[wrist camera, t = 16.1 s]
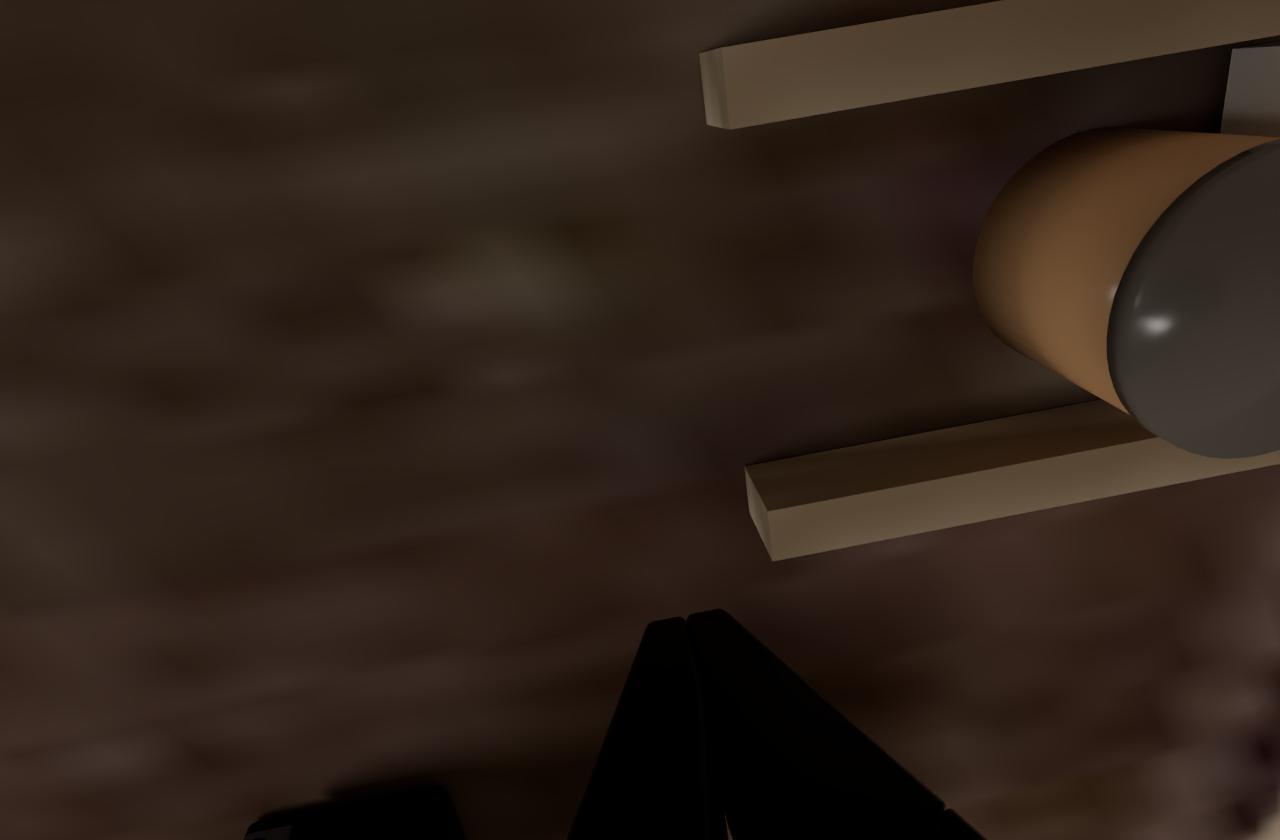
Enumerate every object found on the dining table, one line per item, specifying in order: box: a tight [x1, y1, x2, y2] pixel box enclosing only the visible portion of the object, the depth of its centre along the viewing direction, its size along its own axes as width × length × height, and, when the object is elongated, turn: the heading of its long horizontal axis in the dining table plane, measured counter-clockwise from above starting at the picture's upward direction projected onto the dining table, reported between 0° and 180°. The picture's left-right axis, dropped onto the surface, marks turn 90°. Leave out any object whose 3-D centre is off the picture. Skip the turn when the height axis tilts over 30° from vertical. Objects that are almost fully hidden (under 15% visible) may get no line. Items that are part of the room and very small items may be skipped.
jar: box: [973, 127, 1280, 459], centre depth 17 cm, size 6×6×6 cm
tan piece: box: [699, 0, 1280, 561], centre depth 19 cm, size 12×18×2 cm
